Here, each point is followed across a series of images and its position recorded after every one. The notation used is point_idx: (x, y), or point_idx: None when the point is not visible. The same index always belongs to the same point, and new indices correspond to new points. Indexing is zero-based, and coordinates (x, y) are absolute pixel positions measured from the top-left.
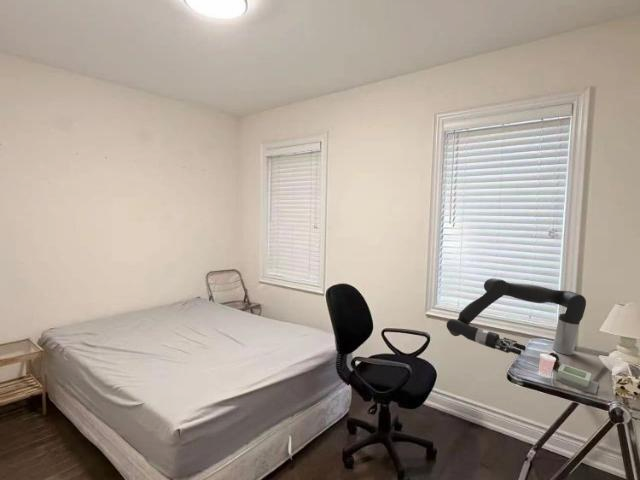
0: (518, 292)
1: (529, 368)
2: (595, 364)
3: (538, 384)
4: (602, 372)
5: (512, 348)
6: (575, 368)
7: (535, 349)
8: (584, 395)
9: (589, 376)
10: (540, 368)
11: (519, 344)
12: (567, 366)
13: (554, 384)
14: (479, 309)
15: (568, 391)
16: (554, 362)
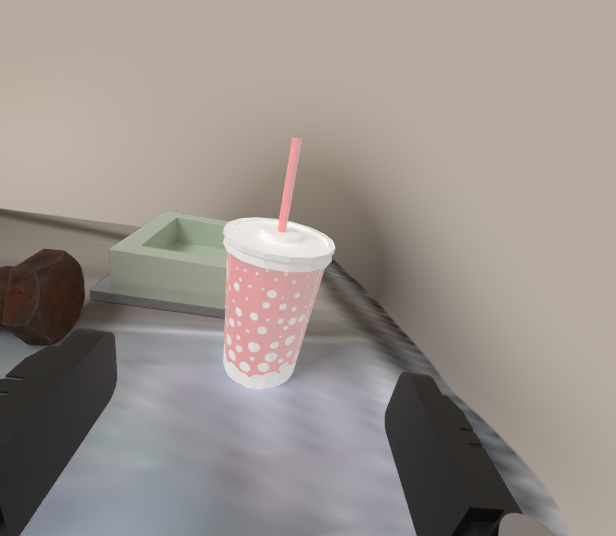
0: None
1: (204, 447)
2: None
3: (438, 384)
4: None
5: (493, 513)
6: (149, 228)
7: None
8: (323, 277)
9: (215, 220)
10: (296, 342)
11: (40, 410)
12: (145, 242)
13: (338, 332)
14: None
15: (350, 303)
16: (69, 278)
